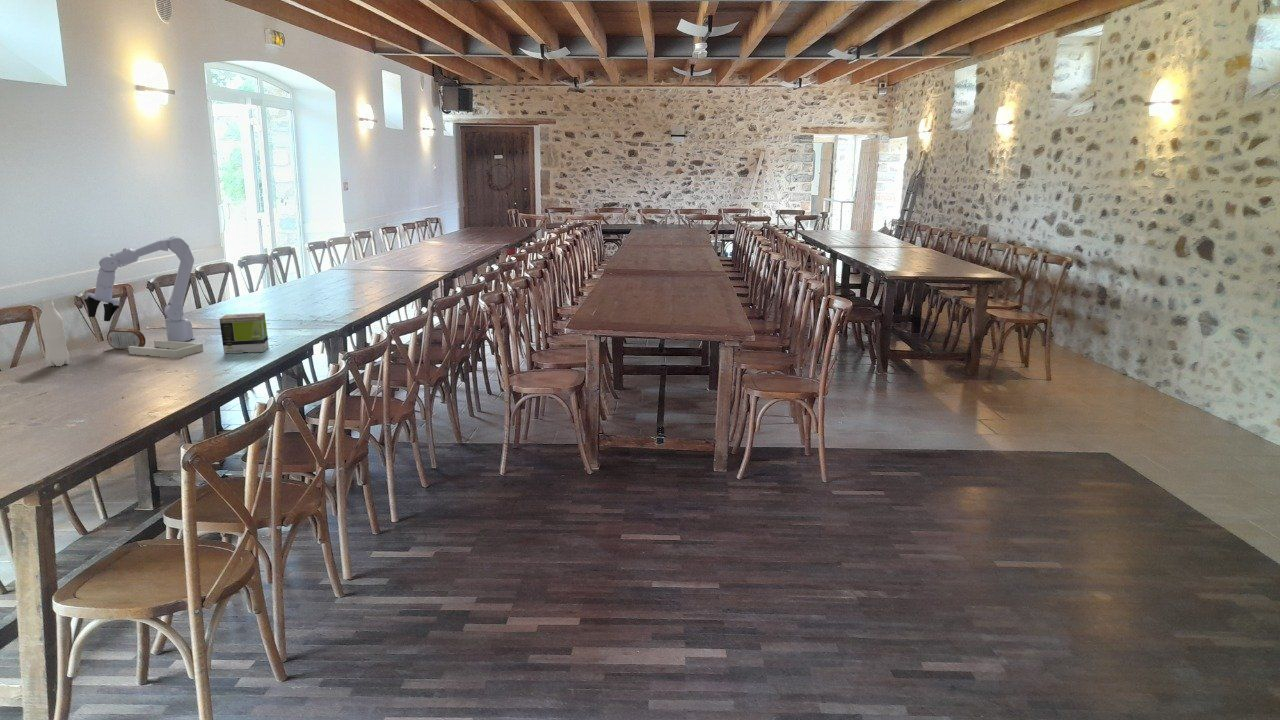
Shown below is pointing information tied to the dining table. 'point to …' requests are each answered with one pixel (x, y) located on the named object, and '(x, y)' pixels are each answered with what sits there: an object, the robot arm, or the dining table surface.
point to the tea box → (244, 333)
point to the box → (182, 347)
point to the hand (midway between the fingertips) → (99, 319)
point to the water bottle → (53, 335)
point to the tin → (125, 338)
